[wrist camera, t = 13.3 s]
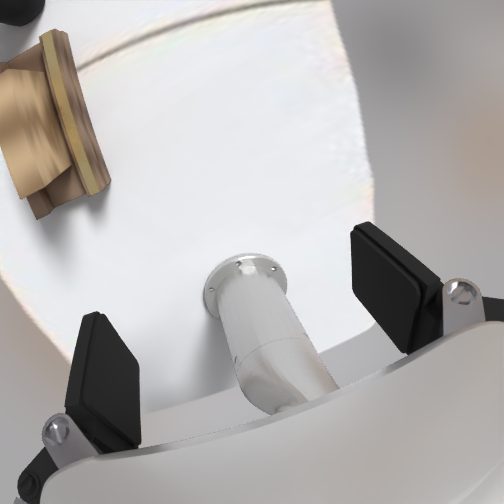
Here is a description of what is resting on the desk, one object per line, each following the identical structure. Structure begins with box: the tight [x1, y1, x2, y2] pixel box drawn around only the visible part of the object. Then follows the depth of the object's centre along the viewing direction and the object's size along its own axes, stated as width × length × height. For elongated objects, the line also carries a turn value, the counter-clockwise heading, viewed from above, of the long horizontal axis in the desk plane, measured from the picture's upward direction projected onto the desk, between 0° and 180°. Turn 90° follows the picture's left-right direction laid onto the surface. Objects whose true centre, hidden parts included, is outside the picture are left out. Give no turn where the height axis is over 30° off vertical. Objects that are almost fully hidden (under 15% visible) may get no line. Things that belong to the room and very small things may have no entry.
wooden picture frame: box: [0, 69, 72, 199], centre depth 22 cm, size 12×3×9 cm, turn 13°
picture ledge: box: [0, 29, 111, 220], centre depth 26 cm, size 20×10×4 cm, turn 13°
